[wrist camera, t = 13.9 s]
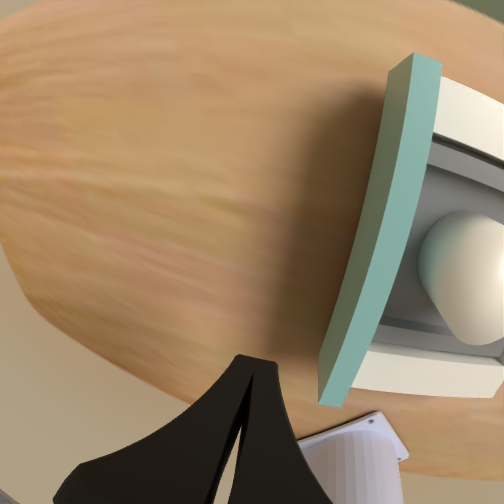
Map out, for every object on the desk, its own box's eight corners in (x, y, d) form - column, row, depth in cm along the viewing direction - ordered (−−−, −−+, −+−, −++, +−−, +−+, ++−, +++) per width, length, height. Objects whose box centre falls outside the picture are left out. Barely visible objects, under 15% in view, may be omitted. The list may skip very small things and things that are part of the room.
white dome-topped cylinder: (436, 320, 15) (461, 364, 12) (401, 243, 14) (428, 276, 11) (508, 272, 14) (545, 304, 10) (481, 190, 13) (526, 208, 9)
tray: (549, 144, 12) (593, 152, 8) (467, 375, 17) (487, 415, 14) (387, 72, 13) (413, 52, 9) (318, 355, 18) (318, 404, 15)
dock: (551, 150, 13) (585, 157, 9) (475, 366, 18) (491, 397, 15) (411, 85, 14) (435, 73, 10) (341, 349, 19) (345, 386, 16)
